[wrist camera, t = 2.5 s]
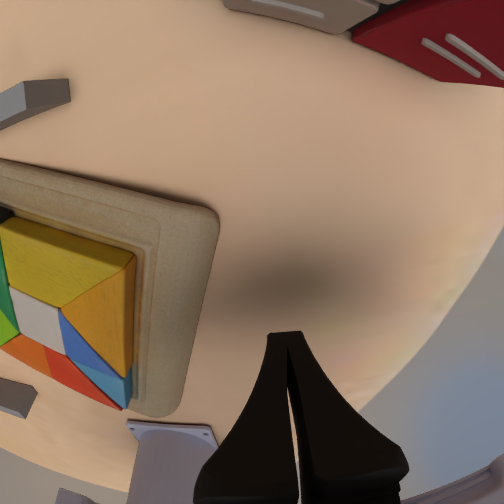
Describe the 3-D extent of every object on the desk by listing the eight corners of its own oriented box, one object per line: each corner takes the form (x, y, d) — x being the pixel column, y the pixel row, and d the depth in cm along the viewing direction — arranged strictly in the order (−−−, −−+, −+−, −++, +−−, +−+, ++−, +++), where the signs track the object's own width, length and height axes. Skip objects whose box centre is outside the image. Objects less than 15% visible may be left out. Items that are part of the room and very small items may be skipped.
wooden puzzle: (-41, 148, 12) (-76, 164, 9) (227, 200, 15) (221, 231, 12) (-6, 337, 20) (-24, 362, 17) (180, 403, 23) (174, 438, 20)
